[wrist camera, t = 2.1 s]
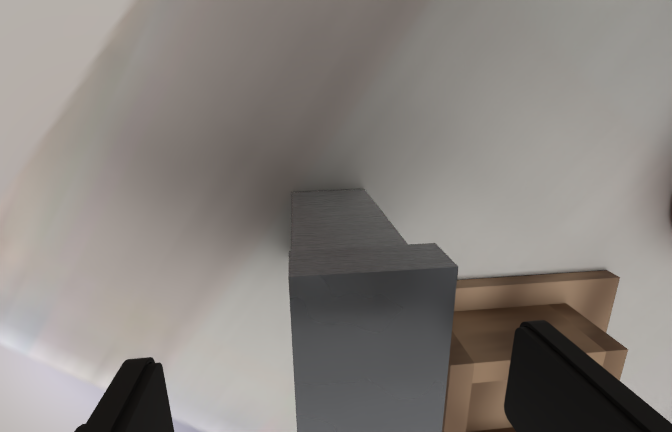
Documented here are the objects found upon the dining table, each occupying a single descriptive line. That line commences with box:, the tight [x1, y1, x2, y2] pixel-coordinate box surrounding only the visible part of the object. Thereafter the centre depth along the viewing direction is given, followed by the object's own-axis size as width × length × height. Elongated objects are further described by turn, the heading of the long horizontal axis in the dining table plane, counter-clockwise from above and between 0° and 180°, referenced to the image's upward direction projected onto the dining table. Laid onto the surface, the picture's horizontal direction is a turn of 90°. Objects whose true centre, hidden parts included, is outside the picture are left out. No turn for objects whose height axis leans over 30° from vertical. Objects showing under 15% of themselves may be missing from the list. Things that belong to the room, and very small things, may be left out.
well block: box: [442, 270, 628, 432], centre depth 23 cm, size 16×14×6 cm
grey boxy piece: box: [289, 189, 458, 432], centre depth 15 cm, size 4×6×12 cm, turn 1°
